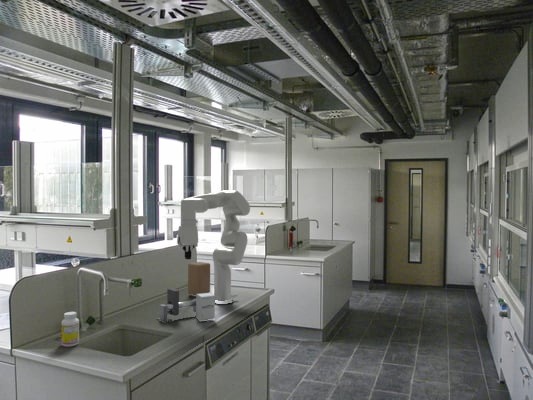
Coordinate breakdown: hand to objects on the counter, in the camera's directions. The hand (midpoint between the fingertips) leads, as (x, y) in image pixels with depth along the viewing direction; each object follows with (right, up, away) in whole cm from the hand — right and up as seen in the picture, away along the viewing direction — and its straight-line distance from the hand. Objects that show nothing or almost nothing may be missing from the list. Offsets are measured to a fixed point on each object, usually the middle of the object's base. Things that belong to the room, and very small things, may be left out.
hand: (188, 259), depth 223 cm
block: (-1, -29, +44) cm, 53 cm away
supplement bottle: (-40, -29, -44) cm, 66 cm away
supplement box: (+10, -29, -7) cm, 32 cm away
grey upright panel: (-7, -27, -5) cm, 28 cm away
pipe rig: (-3, -29, -3) cm, 29 cm away
